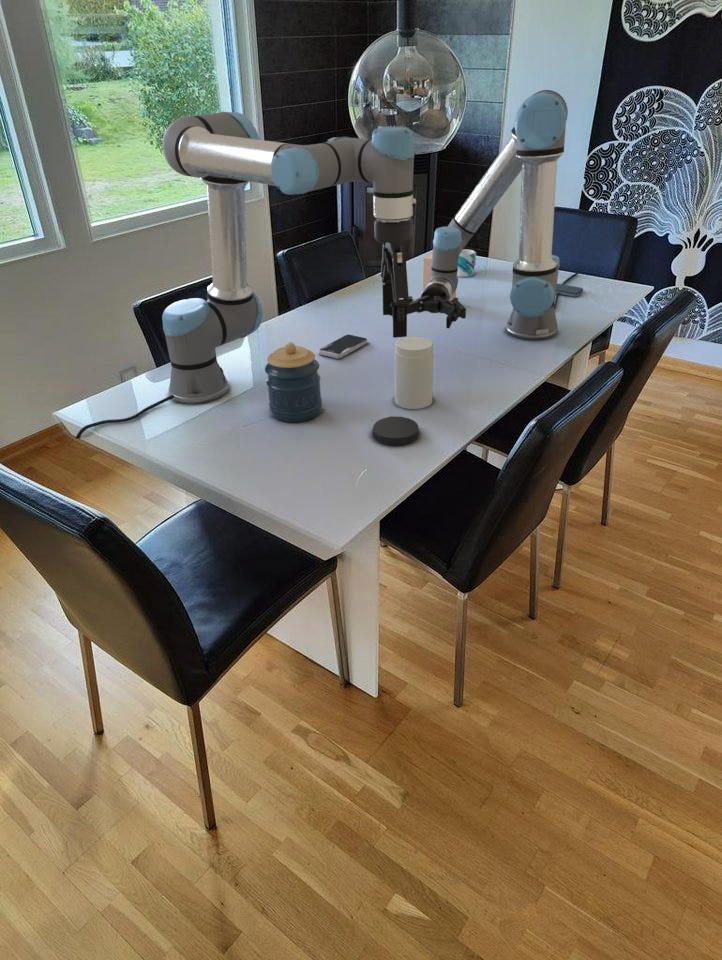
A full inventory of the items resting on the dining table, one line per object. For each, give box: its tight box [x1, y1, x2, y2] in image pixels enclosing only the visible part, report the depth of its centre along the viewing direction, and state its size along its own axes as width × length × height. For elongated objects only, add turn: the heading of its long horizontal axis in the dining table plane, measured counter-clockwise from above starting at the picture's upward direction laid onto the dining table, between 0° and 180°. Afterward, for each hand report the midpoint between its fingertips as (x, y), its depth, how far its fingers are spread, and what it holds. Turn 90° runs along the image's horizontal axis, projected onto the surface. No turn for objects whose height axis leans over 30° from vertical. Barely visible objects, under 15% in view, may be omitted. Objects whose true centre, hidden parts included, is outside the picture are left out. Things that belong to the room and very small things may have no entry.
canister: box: [264, 342, 323, 423], centre depth 161 cm, size 13×13×18 cm
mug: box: [457, 248, 477, 278], centre depth 259 cm, size 8×12×8 cm
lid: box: [372, 416, 420, 447], centre depth 154 cm, size 10×11×2 cm
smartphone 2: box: [556, 283, 584, 298], centre depth 237 cm, size 8×2×15 cm
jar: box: [393, 336, 435, 410], centre depth 165 cm, size 10×10×15 cm
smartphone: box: [318, 334, 368, 360], centre depth 199 cm, size 8×1×15 cm
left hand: (394, 325), depth 140 cm, fingers open, 13 cm apart
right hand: (420, 322), depth 168 cm, fingers open, 13 cm apart
